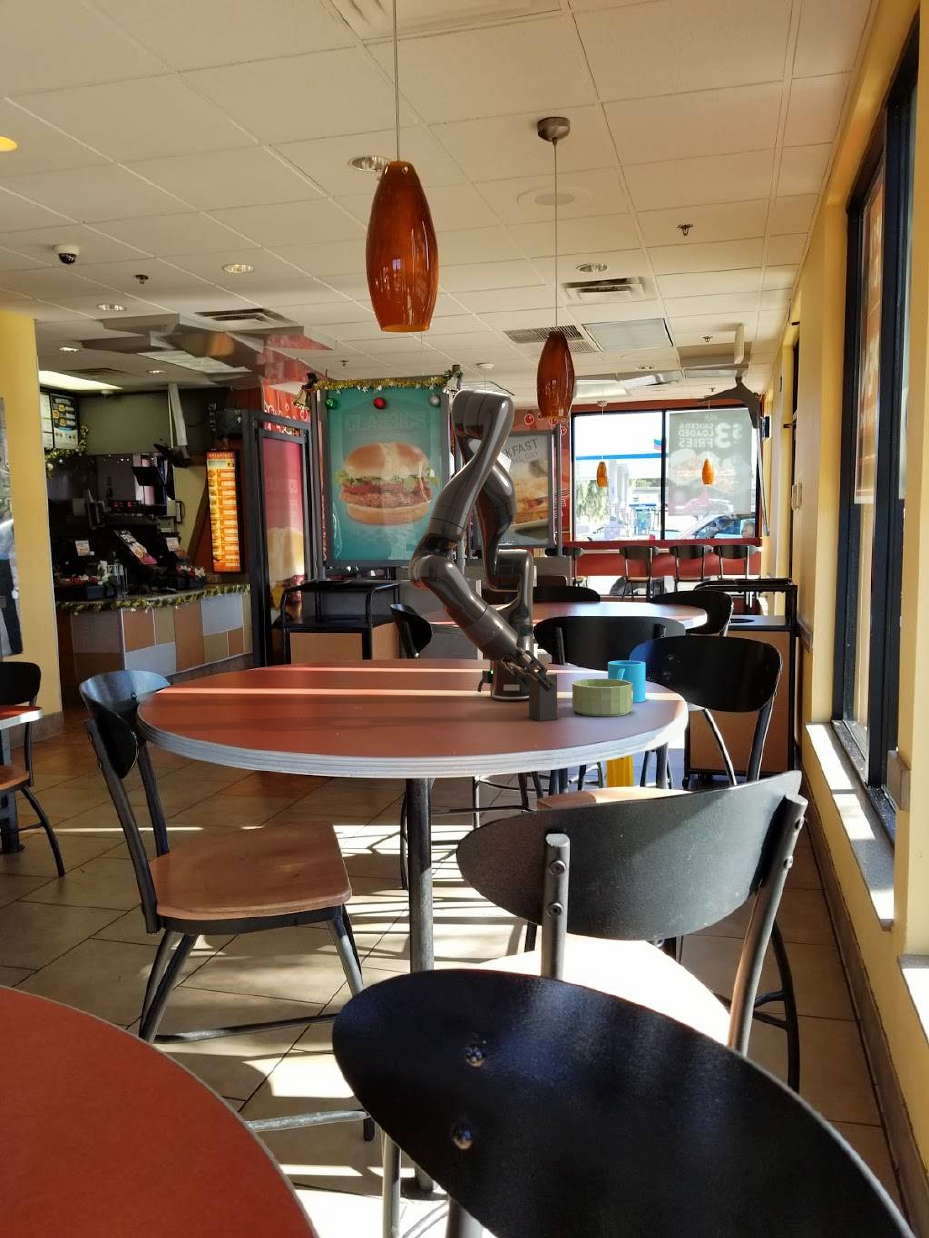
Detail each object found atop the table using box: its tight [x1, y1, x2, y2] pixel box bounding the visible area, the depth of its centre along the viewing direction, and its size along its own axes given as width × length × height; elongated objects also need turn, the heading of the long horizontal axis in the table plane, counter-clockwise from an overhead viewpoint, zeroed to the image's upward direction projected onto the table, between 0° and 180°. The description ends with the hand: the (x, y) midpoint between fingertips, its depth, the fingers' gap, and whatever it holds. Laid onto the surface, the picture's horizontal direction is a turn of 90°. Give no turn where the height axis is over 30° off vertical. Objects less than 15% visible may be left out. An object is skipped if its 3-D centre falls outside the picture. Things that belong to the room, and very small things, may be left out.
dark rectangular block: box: [528, 671, 558, 722], centre depth 183 cm, size 4×4×9 cm
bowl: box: [571, 678, 634, 718], centre depth 190 cm, size 12×12×6 cm
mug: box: [607, 660, 646, 704], centre depth 202 cm, size 12×8×8 cm
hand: (541, 686), depth 183 cm, fingers open, 8 cm apart
